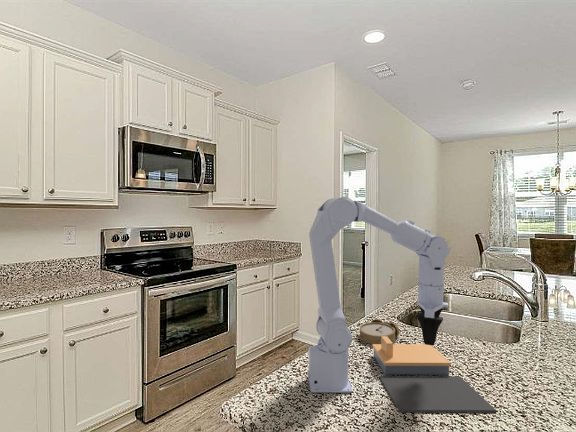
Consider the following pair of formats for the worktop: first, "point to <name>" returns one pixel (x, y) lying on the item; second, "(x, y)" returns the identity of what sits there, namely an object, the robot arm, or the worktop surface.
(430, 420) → the worktop surface
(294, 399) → the worktop surface
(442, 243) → the robot arm
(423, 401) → the mat
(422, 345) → the lid
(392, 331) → the alarm clock
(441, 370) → the blue-grey tray
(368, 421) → the worktop surface
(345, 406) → the worktop surface
